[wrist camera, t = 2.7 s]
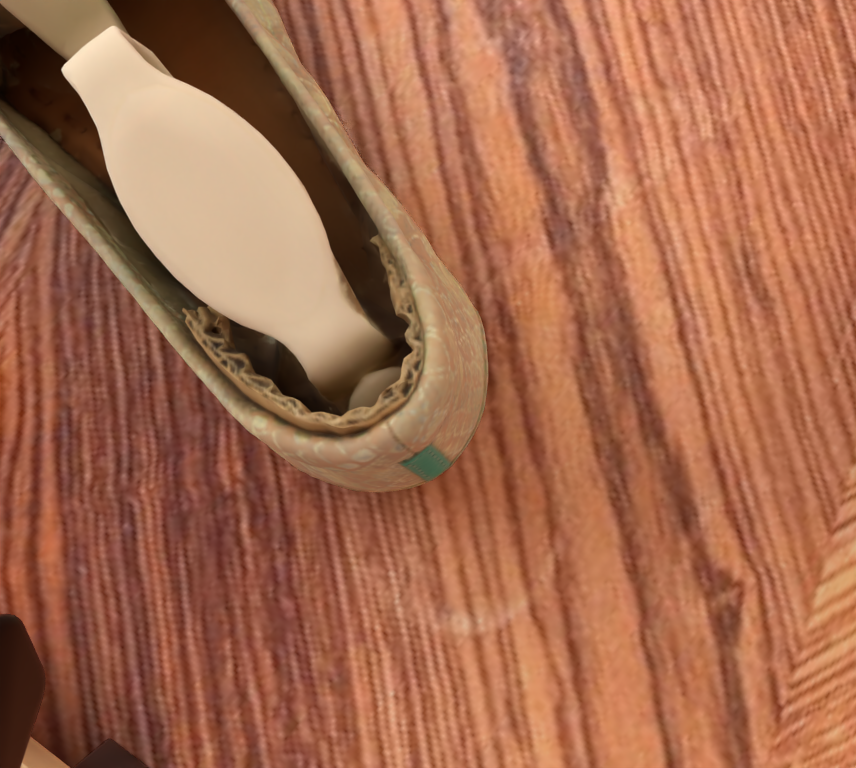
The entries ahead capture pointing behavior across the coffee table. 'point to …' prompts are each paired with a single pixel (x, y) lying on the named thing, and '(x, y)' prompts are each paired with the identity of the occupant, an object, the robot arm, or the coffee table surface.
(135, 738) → the coffee table surface
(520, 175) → the coffee table surface
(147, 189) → the ballet flat
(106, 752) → the small wooden stand
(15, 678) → the robot arm
